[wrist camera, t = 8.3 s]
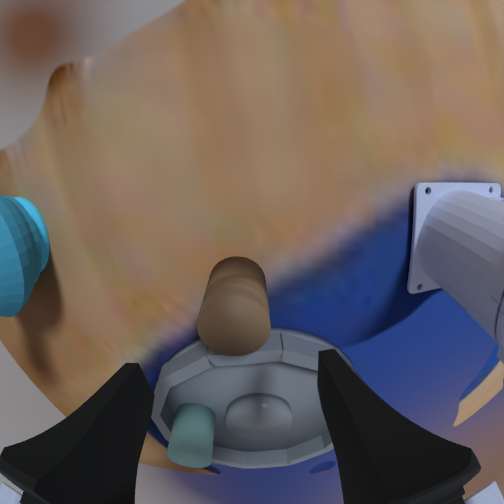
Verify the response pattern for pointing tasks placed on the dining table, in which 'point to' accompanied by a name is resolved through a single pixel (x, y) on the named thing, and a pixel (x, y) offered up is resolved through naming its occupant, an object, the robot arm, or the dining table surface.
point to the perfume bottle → (20, 252)
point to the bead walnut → (235, 308)
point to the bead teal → (192, 436)
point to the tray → (252, 398)
